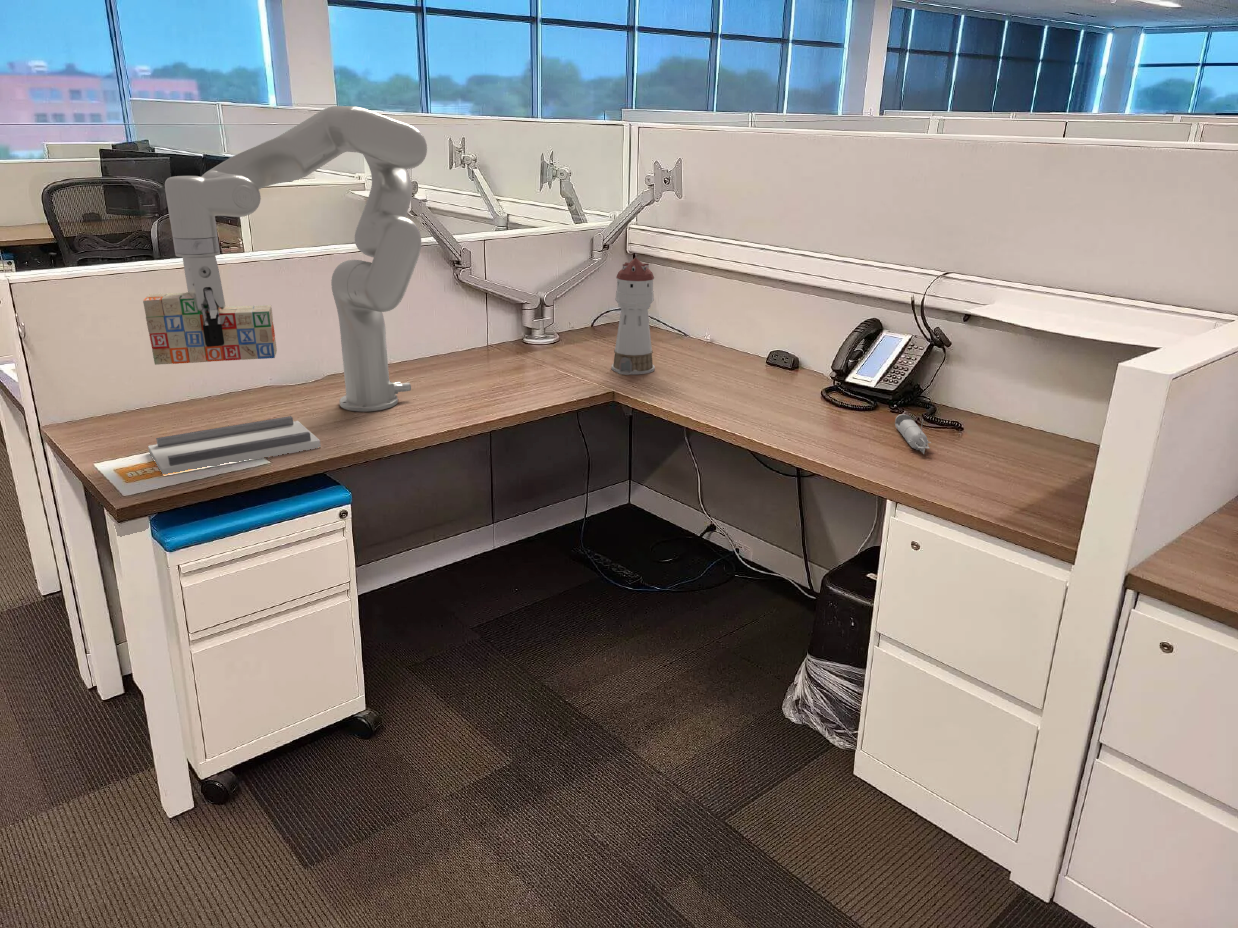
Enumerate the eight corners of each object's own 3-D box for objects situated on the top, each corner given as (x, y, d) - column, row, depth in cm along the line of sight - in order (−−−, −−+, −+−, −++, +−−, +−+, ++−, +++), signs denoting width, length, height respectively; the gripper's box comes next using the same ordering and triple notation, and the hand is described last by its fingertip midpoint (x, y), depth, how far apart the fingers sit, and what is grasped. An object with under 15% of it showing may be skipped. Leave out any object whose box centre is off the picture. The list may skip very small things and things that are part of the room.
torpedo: (888, 427, 193) (892, 398, 191) (910, 427, 193) (914, 398, 191) (911, 457, 176) (916, 425, 174) (935, 457, 176) (940, 426, 174)
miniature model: (655, 364, 237) (660, 249, 226) (652, 376, 226) (657, 256, 215) (614, 362, 238) (616, 247, 227) (608, 374, 227) (610, 254, 216)
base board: (298, 427, 184) (297, 413, 183) (320, 447, 174) (319, 433, 173) (149, 453, 169) (146, 438, 168) (163, 476, 159) (160, 461, 158)
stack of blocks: (277, 351, 178) (270, 289, 173) (275, 359, 172) (267, 295, 168) (159, 356, 172) (148, 292, 168) (153, 365, 167) (141, 299, 162)
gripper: (228, 251, 159) (241, 348, 166) (209, 240, 173) (222, 329, 179) (182, 254, 156) (197, 353, 162) (167, 242, 169) (182, 334, 176)
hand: (210, 340), depth 171 cm, fingers closed on stack of blocks, 7 cm apart
